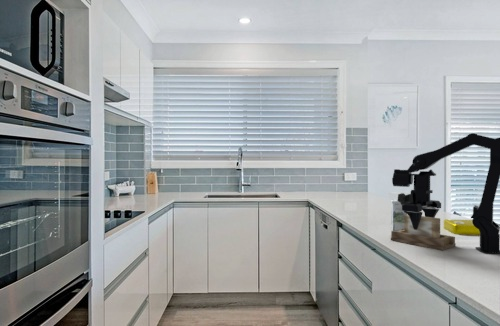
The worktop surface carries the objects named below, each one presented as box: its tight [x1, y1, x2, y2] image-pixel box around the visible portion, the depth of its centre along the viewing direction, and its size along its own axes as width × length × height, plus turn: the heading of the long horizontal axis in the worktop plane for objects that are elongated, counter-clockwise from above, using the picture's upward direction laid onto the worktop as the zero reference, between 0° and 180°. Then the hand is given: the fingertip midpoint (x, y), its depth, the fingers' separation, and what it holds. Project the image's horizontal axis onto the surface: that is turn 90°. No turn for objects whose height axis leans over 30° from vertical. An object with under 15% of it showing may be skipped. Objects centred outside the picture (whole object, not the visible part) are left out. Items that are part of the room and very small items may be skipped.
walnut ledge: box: [390, 229, 457, 251], centre depth 136 cm, size 20×10×4 cm, turn 37°
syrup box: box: [390, 199, 408, 232], centre depth 153 cm, size 6×6×14 cm
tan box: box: [405, 214, 441, 238], centre depth 136 cm, size 12×4×9 cm, turn 37°
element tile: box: [443, 218, 480, 236], centre depth 158 cm, size 15×15×5 cm
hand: (421, 228), depth 136 cm, fingers open, 9 cm apart
